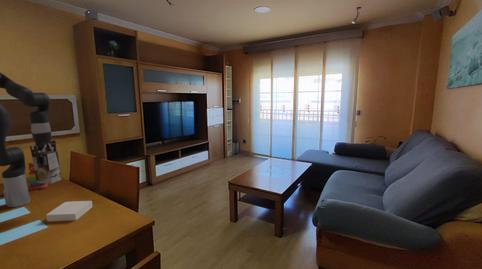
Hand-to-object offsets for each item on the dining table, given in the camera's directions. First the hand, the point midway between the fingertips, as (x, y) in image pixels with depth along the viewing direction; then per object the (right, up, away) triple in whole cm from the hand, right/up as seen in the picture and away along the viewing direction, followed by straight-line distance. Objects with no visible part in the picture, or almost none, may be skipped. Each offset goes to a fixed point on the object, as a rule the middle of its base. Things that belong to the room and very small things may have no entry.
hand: (46, 162), depth 120 cm
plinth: (+14, -28, 0) cm, 31 cm away
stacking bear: (-35, -22, +34) cm, 53 cm away
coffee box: (0, -11, +2) cm, 11 cm away
